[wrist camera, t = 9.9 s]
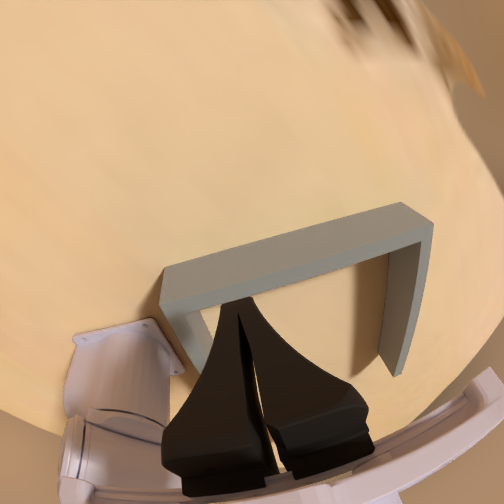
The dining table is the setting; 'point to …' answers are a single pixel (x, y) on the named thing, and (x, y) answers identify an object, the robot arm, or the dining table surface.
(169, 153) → the dining table surface
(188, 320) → the gray rectangular arch
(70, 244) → the dining table surface
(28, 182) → the dining table surface
